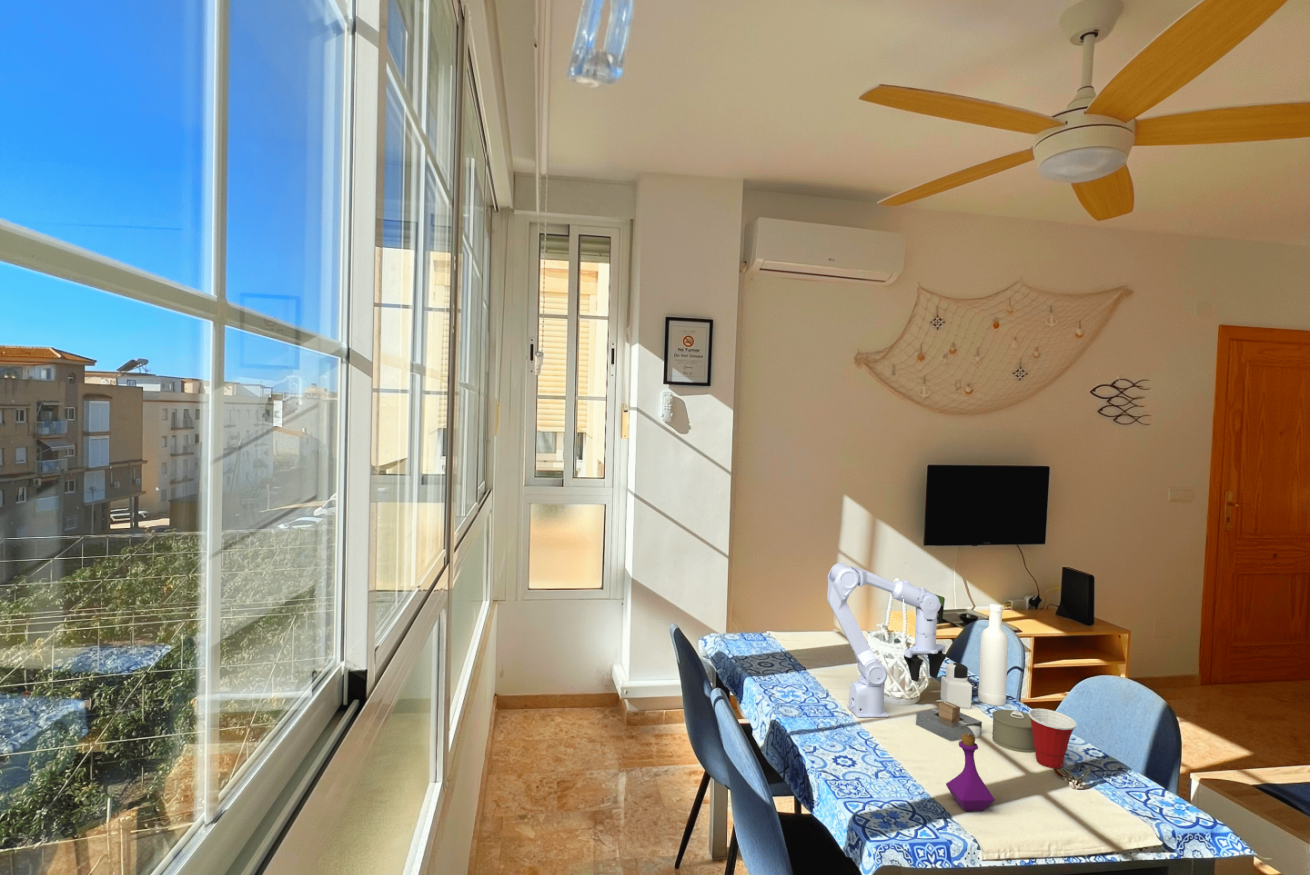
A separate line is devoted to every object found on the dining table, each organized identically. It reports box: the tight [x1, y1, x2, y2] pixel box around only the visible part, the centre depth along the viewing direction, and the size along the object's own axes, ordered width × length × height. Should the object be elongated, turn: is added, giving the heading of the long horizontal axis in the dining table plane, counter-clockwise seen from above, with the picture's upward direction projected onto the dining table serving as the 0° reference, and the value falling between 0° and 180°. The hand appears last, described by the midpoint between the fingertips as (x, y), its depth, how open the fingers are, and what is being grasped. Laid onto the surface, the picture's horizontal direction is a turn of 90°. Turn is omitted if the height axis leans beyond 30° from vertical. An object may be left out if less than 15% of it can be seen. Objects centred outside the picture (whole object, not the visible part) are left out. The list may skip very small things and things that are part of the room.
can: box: [992, 709, 1035, 754], centre depth 200 cm, size 12×12×7 cm
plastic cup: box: [1027, 708, 1077, 769], centre depth 187 cm, size 11×11×12 cm
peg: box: [938, 701, 961, 723], centre depth 207 cm, size 3×4×7 cm, turn 27°
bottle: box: [977, 603, 1009, 707], centre depth 231 cm, size 8×8×30 cm
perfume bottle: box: [945, 726, 996, 812], centre depth 164 cm, size 8×8×18 cm
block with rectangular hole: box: [915, 707, 983, 742], centre depth 207 cm, size 12×12×4 cm
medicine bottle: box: [940, 662, 973, 709], centre depth 228 cm, size 7×7×12 cm
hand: (924, 678), depth 218 cm, fingers open, 7 cm apart
